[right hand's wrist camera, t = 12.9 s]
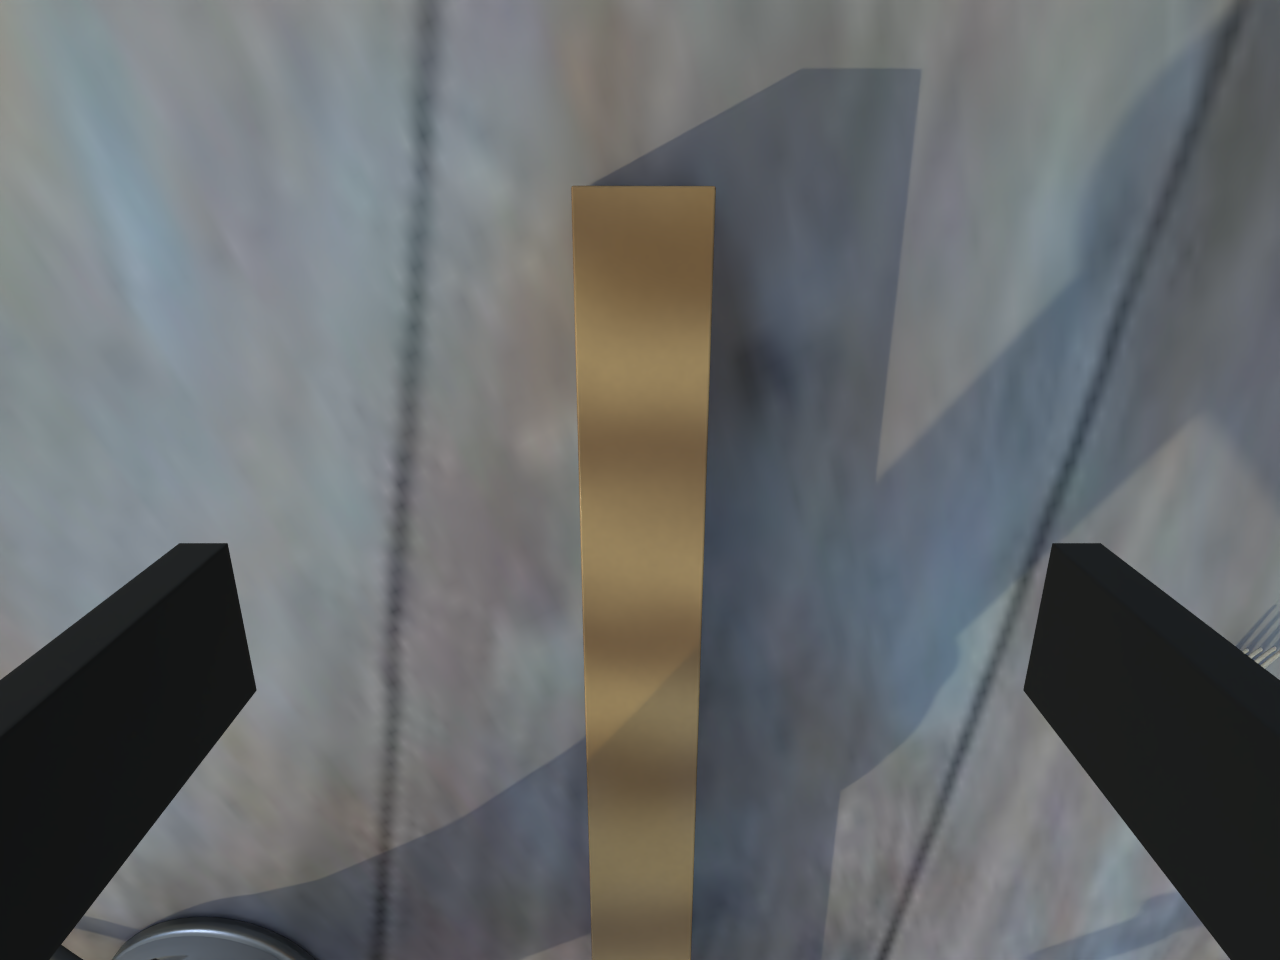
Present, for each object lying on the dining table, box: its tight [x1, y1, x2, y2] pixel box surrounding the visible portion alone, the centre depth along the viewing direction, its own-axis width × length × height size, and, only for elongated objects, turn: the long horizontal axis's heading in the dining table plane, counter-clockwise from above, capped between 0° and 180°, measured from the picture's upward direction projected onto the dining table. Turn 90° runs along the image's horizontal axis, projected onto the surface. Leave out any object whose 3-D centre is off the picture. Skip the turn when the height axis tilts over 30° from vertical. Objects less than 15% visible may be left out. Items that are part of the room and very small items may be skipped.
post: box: [571, 186, 716, 960], centre depth 44 cm, size 71×5×7 cm, turn 0°
